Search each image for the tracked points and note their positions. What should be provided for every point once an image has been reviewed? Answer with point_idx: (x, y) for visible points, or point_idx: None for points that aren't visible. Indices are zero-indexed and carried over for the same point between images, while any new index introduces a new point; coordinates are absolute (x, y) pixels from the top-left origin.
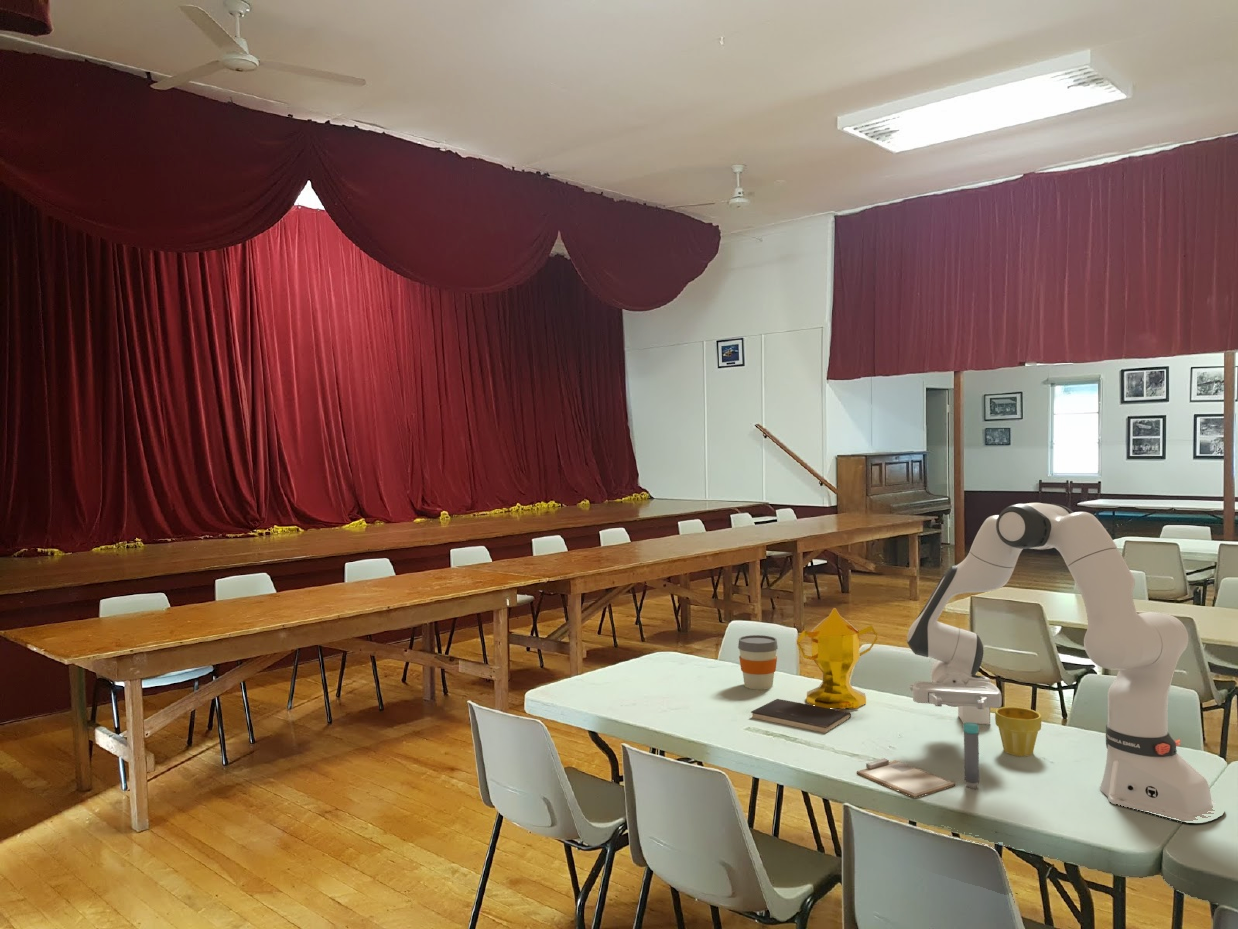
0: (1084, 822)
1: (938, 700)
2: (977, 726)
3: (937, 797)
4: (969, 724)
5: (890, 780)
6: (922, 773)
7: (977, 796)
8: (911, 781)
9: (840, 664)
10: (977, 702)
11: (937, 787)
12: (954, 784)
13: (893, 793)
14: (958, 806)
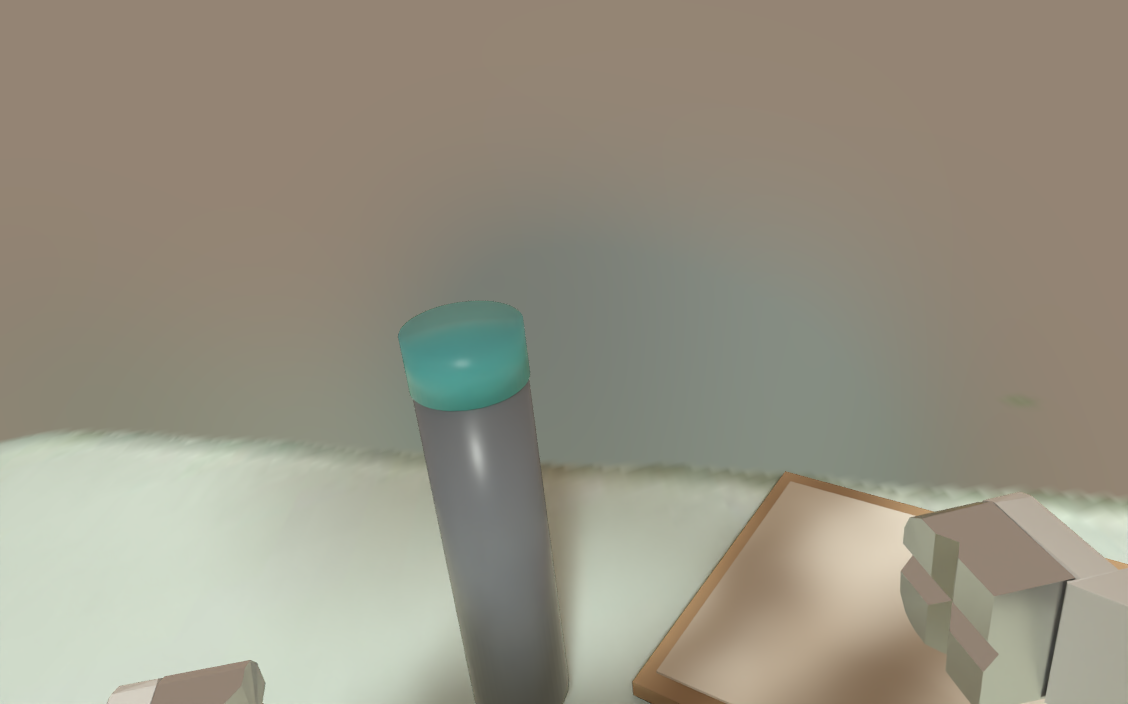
0: (46, 555)
1: (962, 508)
2: (410, 319)
3: (692, 531)
4: (473, 325)
5: None
6: None
7: None
8: (882, 592)
9: None
10: (248, 693)
11: (715, 585)
12: (635, 684)
13: (904, 493)
14: (581, 493)
